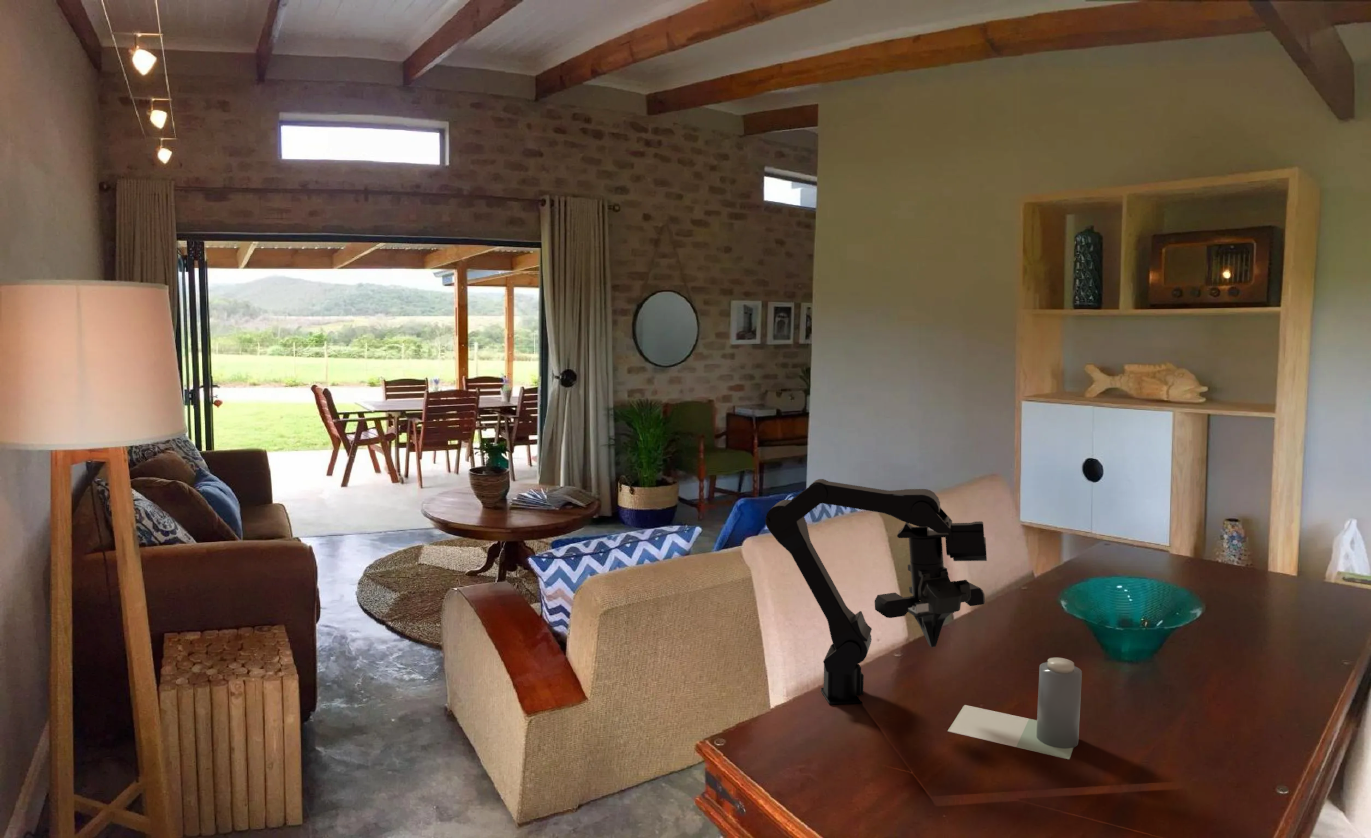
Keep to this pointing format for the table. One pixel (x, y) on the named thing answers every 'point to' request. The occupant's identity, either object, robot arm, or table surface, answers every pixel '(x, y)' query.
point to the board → (1003, 730)
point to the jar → (1059, 703)
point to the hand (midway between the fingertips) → (932, 646)
